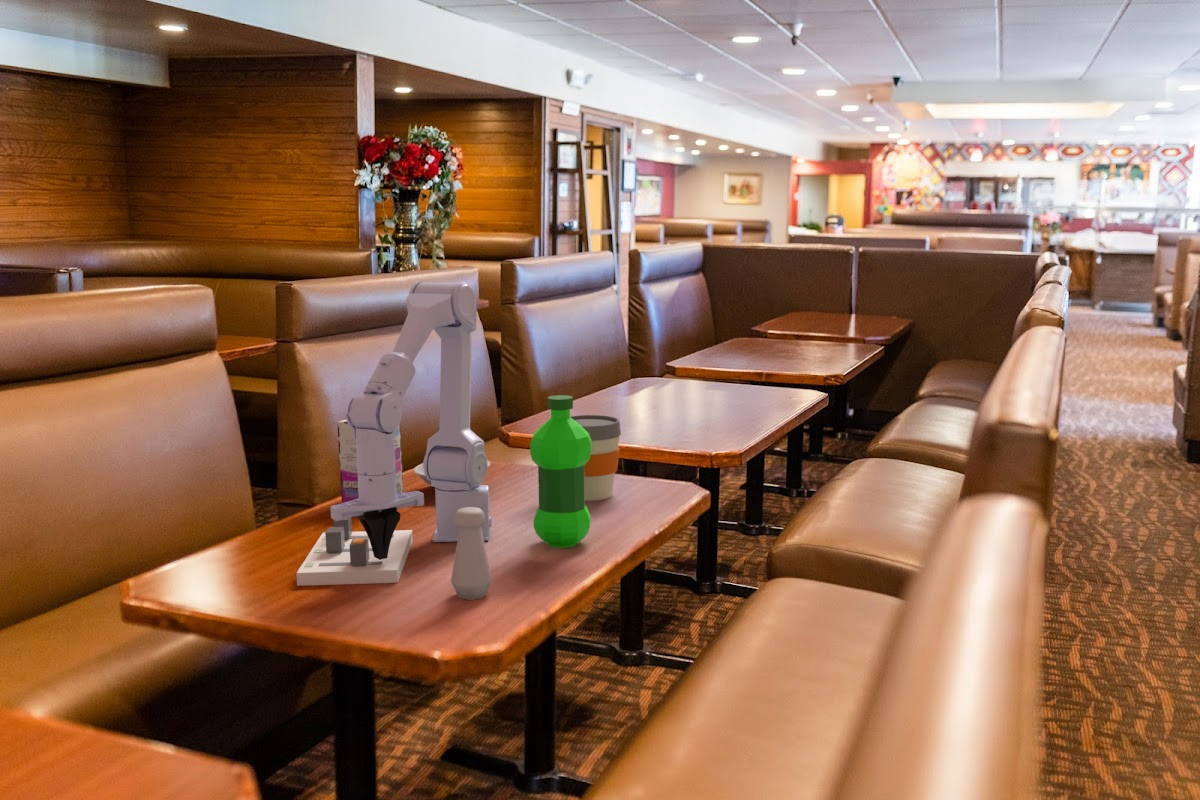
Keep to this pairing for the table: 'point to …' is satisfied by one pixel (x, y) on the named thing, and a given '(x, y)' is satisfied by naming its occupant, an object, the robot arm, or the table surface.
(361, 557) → the block
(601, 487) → the reusable coffee cup
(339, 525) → the far breaker
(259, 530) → the table surface
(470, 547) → the salt shaker
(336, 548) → the middle breaker
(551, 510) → the plastic bottle
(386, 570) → the breaker panel
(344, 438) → the candy bar box
